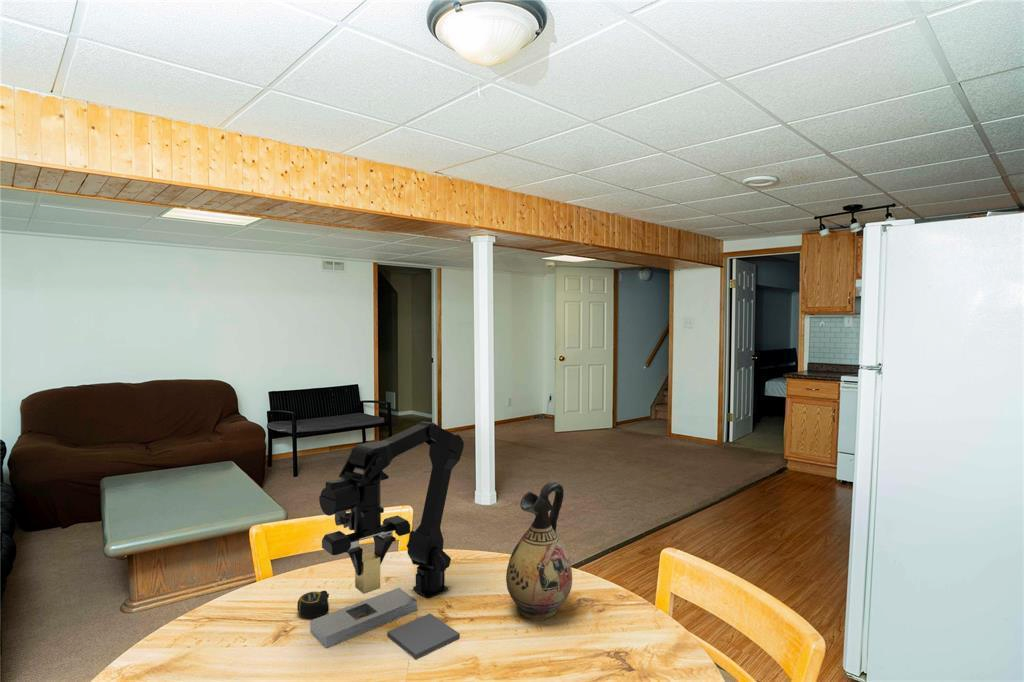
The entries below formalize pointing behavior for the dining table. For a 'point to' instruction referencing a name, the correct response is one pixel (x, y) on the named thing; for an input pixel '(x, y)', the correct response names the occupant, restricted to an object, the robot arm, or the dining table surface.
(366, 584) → the brass block
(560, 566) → the ceramic jug
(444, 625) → the rubber mat
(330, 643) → the metal plate
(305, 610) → the tape measure
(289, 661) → the dining table surface
